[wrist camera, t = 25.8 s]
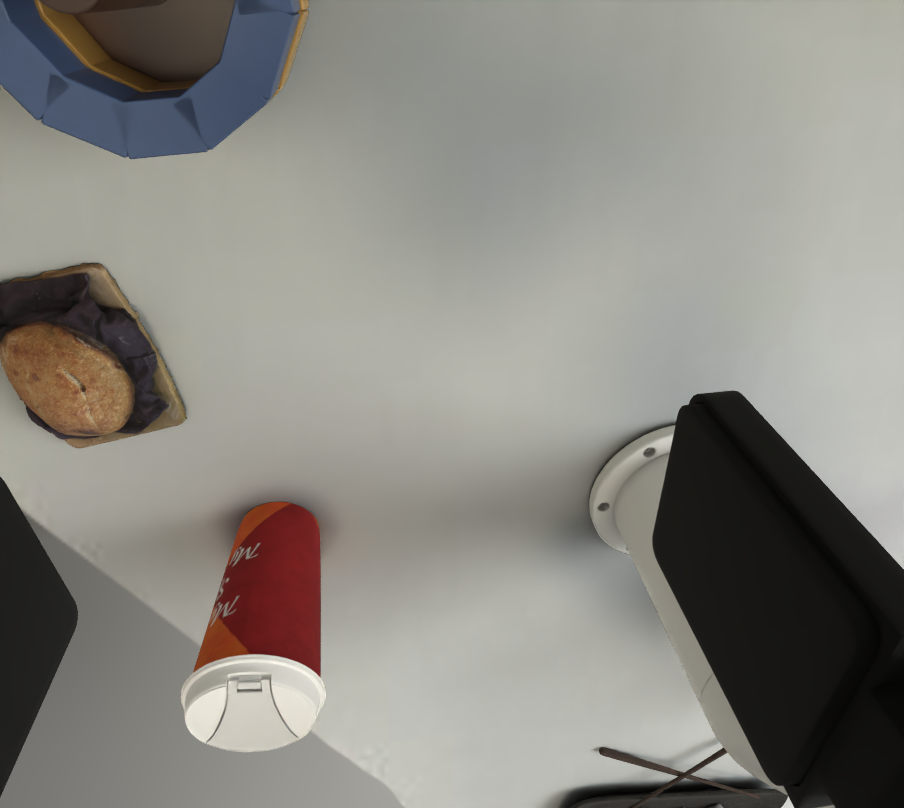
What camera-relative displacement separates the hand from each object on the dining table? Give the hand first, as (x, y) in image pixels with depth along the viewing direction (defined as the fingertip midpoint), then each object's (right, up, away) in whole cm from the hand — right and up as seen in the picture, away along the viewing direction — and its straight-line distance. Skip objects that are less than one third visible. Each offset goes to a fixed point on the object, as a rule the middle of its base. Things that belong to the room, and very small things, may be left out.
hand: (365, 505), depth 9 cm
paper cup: (-11, -8, +36) cm, 38 cm away
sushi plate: (+29, -43, +66) cm, 84 cm away
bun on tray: (-20, +4, +27) cm, 33 cm away
